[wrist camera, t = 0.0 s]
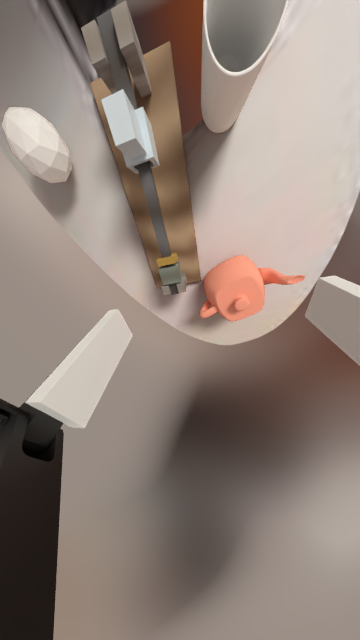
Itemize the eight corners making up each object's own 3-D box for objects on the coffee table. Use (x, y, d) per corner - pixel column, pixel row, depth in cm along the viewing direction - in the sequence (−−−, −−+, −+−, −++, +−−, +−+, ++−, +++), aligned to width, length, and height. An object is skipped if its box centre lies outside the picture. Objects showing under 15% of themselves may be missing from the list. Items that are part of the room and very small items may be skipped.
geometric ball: (72, 177, 29) (42, 197, 26) (25, 112, 23) (-20, 130, 20) (90, 164, 25) (57, 186, 22) (39, 82, 19) (-16, 99, 16)
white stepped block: (125, 135, 20) (91, 94, 13) (151, 124, 19) (128, 75, 13) (136, 174, 22) (111, 155, 16) (159, 165, 22) (144, 142, 15)
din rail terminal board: (94, 89, 21) (43, 23, 14) (171, 50, 19) (156, -54, 12) (158, 286, 39) (150, 302, 32) (200, 279, 37) (202, 293, 30)
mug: (250, 115, 21) (297, 29, 12) (208, 148, 23) (218, 99, 14) (232, -12, 16) (288, -348, 7) (181, 45, 18) (167, -142, 9)
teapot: (279, 282, 36) (311, 307, 26) (208, 314, 43) (213, 342, 34) (266, 231, 30) (301, 238, 20) (186, 279, 37) (184, 300, 27)
